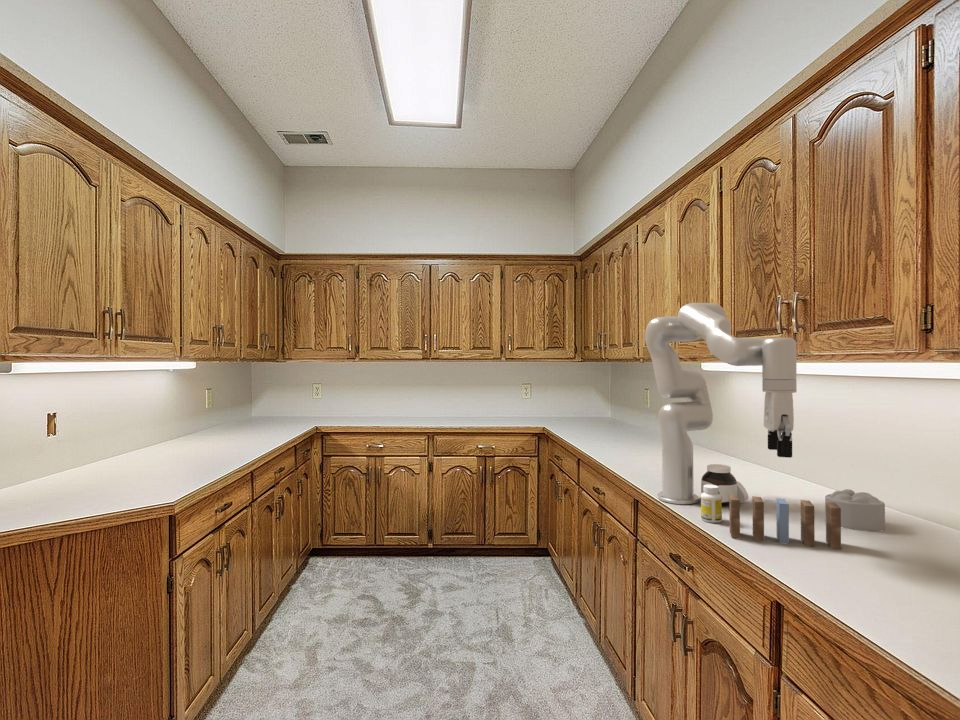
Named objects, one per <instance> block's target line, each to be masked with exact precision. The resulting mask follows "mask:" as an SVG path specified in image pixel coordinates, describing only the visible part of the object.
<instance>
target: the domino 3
mask: <svg viewBox="0 0 960 720" xmlns="http://www.w3.org/2000/svg"><path fill="white" fill-rule="evenodd" d="M815 530H816V529H815V505H814V504H813V503H812V502H811V501H810V500H806V499H800V540H801V542H802V544H804V546H806V547H813V548H814V547H815V546H816V545H815V539H816V538H815V537H816V536H815Z"/></svg>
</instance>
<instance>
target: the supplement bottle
mask: <svg viewBox="0 0 960 720" xmlns="http://www.w3.org/2000/svg"><path fill="white" fill-rule="evenodd" d="M703 490H704V493H702V494H701V495H700V511H701V512H700V516H701V520H702V521H704V522H706V523H712V524H718V523H721V522H722V521H723V513H722V512H723V509H722V507H723V506H722V499H721V495H720V494H718V492H719V487H718V486H716V485H704V486H703Z"/></svg>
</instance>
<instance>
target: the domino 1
mask: <svg viewBox="0 0 960 720" xmlns="http://www.w3.org/2000/svg"><path fill="white" fill-rule="evenodd" d="M728 507H729V512H728V513H729V535H730V534H731V535H730V538H731V537H732V538H731V539H736V538H740V539H741V503H740V500H739V497H738V495H729V506H728Z"/></svg>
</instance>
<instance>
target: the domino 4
mask: <svg viewBox="0 0 960 720" xmlns="http://www.w3.org/2000/svg"><path fill="white" fill-rule="evenodd" d="M825 542H826V544H827V545H828V546H829V547H830V548H831V549H834V550H841V549H842V527H841V508H840V507H839V506H838V505H837V504H836V503H833V502H826V522H825Z"/></svg>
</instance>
